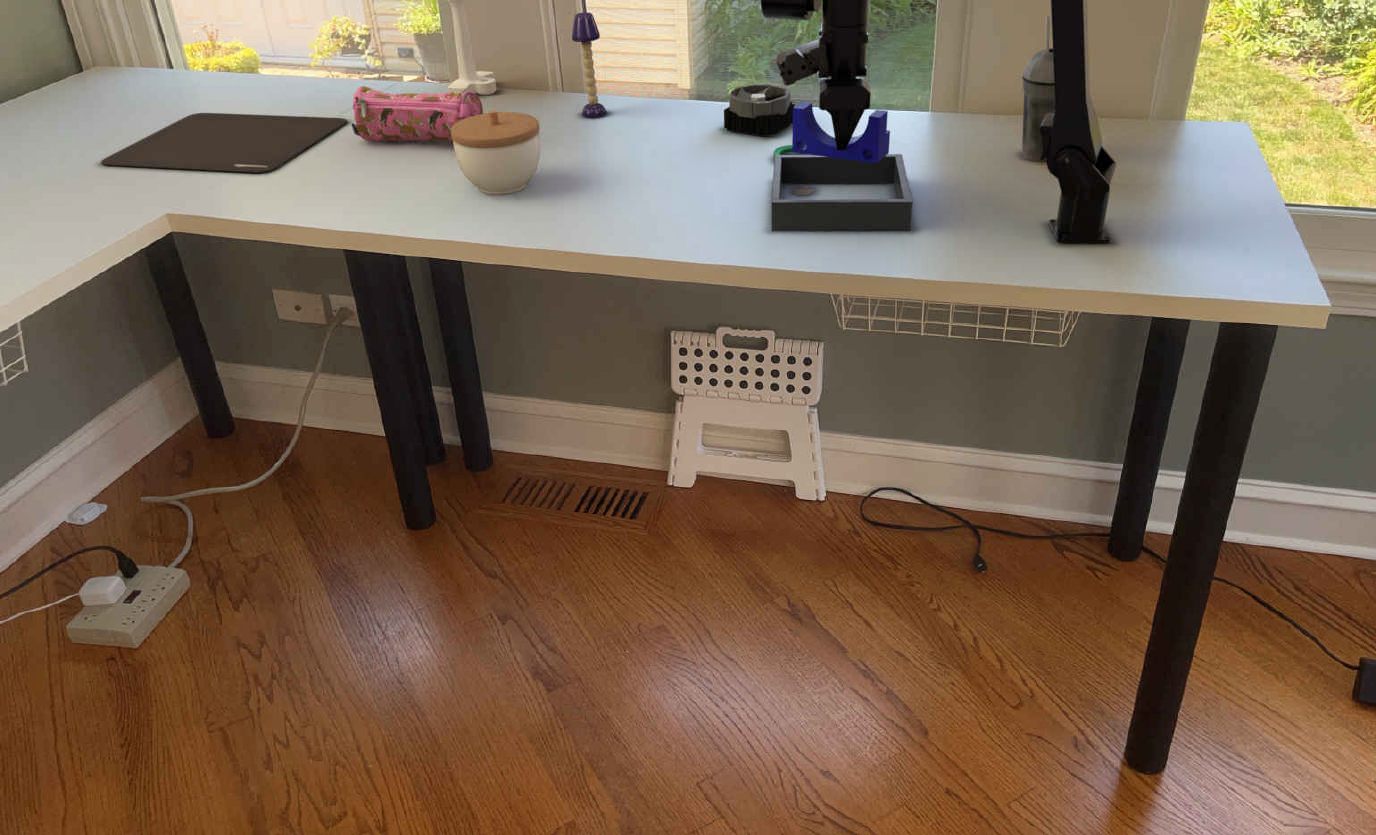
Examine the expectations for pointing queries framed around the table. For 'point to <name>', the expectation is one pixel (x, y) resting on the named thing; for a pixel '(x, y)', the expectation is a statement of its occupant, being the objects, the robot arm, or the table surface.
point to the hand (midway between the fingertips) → (840, 143)
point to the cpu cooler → (759, 110)
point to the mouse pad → (226, 142)
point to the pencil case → (411, 114)
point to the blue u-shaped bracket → (821, 144)
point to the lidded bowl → (497, 150)
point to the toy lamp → (588, 60)
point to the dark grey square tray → (839, 210)
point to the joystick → (467, 58)
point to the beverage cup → (1037, 98)
